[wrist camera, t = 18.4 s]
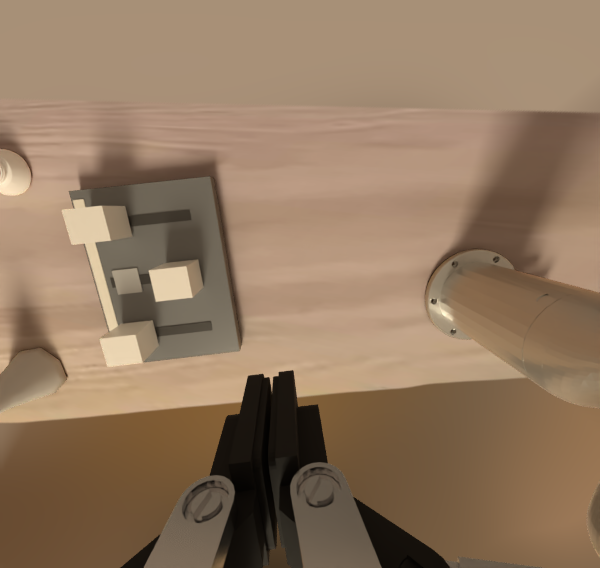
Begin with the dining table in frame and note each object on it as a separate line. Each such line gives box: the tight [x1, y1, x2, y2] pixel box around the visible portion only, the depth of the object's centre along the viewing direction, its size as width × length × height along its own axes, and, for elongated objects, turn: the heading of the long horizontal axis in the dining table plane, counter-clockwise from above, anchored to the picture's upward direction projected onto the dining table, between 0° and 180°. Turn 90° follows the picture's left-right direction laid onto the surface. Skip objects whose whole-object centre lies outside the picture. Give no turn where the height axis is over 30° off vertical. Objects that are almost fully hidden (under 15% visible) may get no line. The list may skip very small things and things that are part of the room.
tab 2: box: [149, 259, 203, 302], centre depth 34 cm, size 4×4×4 cm
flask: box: [0, 348, 67, 413], centre depth 36 cm, size 7×7×10 cm
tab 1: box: [62, 206, 133, 245], centre depth 33 cm, size 4×4×4 cm
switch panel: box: [69, 176, 242, 362], centre depth 38 cm, size 16×22×2 cm
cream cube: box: [100, 320, 159, 367], centre depth 36 cm, size 4×4×4 cm
